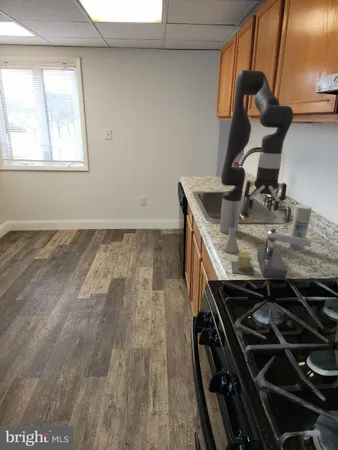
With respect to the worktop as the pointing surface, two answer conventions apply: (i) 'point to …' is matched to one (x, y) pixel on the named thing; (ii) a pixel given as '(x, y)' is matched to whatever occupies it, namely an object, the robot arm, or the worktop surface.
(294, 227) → the spray can
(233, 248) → the flask
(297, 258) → the worktop surface
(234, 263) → the mat
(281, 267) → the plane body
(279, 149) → the robot arm
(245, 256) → the tan upright block
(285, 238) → the lever
